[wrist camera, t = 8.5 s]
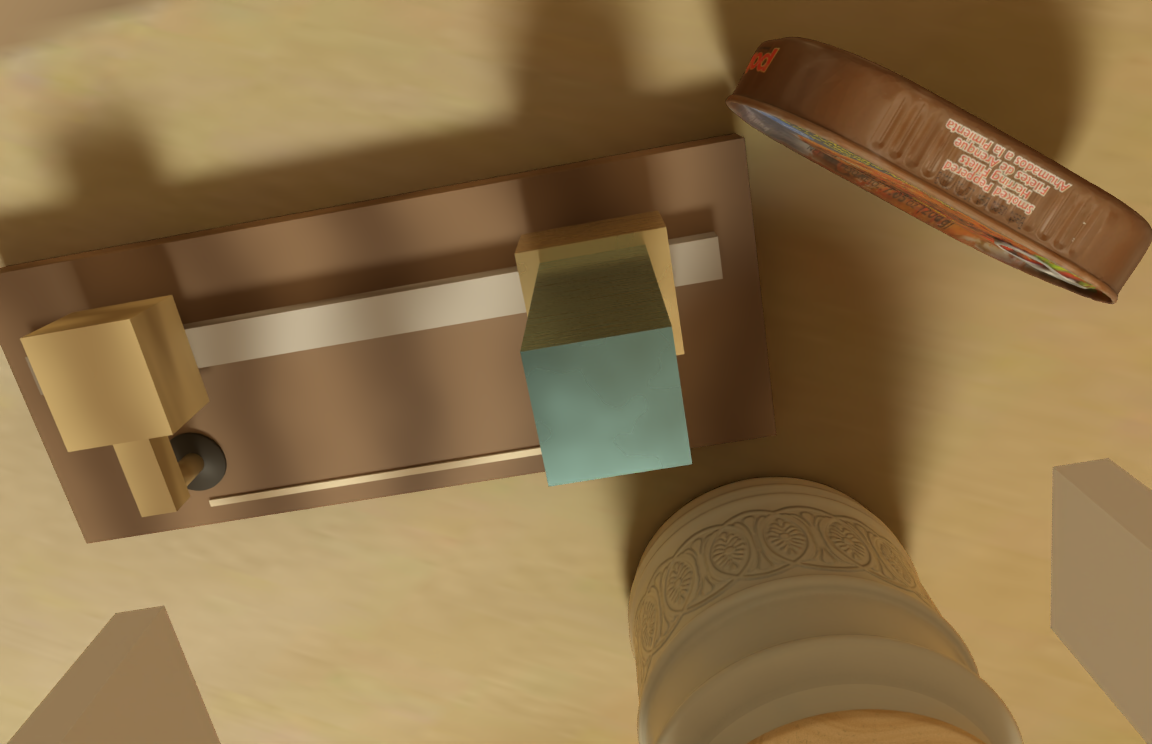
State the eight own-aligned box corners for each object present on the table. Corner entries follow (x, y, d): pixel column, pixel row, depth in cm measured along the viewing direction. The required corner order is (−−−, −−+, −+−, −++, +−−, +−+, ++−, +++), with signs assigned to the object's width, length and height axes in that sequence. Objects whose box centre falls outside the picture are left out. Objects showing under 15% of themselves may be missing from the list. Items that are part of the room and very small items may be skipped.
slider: (560, 418, 34) (547, 618, 22) (522, 230, 32) (483, 339, 19) (684, 398, 34) (740, 590, 22) (656, 206, 31) (702, 301, 19)
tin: (706, 103, 33) (744, 117, 25) (748, 23, 32) (803, 12, 24) (1026, 278, 35) (1156, 343, 27) (1075, 209, 34) (1225, 255, 26)
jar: (603, 495, 38) (617, 827, 22) (894, 445, 37) (1140, 753, 21) (651, 721, 43) (693, 1141, 26) (912, 682, 42) (1128, 1092, 25)
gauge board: (110, 520, 39) (27, 600, 33) (4, 266, 35) (-112, 308, 29) (766, 415, 37) (800, 482, 31) (735, 133, 33) (767, 149, 27)
